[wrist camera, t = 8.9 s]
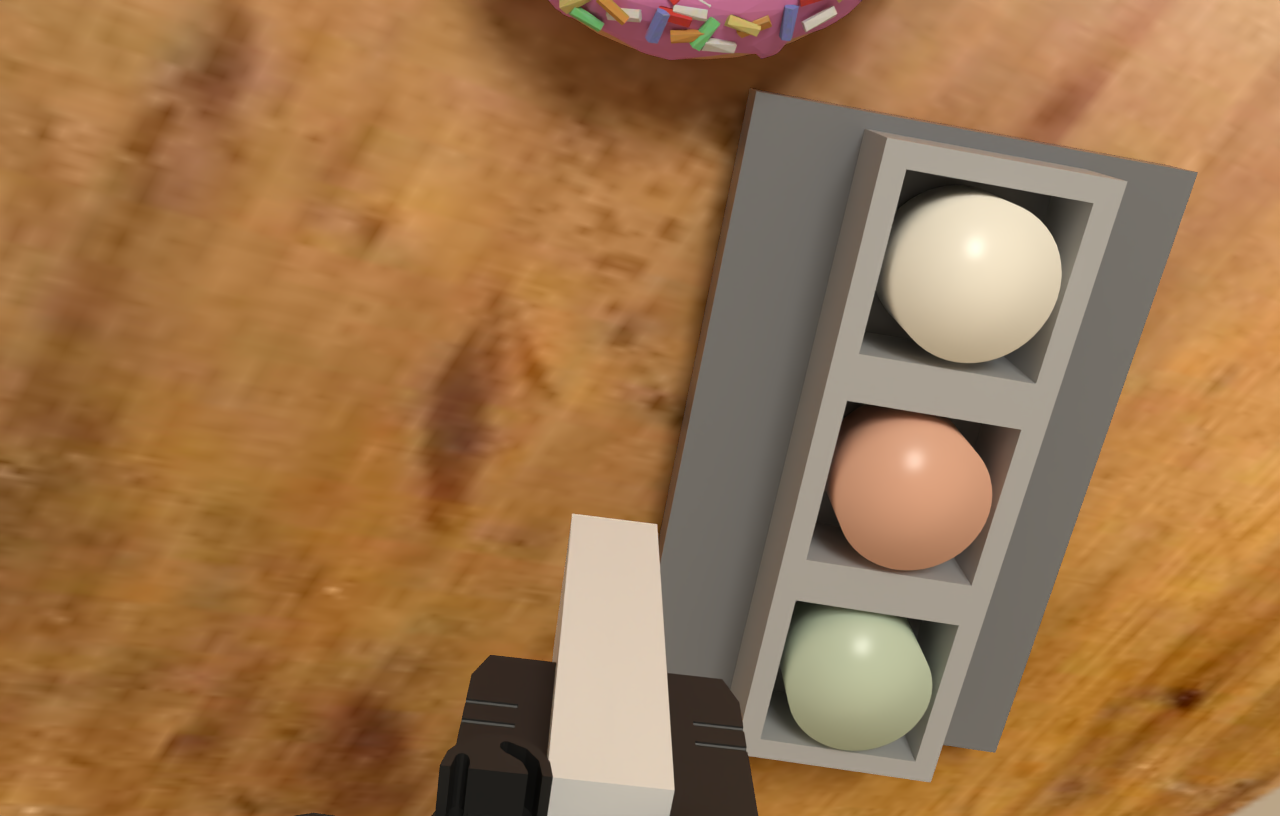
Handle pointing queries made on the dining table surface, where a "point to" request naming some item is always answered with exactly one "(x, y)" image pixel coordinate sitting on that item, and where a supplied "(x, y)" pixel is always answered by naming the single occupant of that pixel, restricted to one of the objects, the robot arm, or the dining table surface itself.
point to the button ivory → (968, 273)
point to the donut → (705, 24)
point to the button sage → (853, 676)
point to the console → (895, 378)
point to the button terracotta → (907, 487)
